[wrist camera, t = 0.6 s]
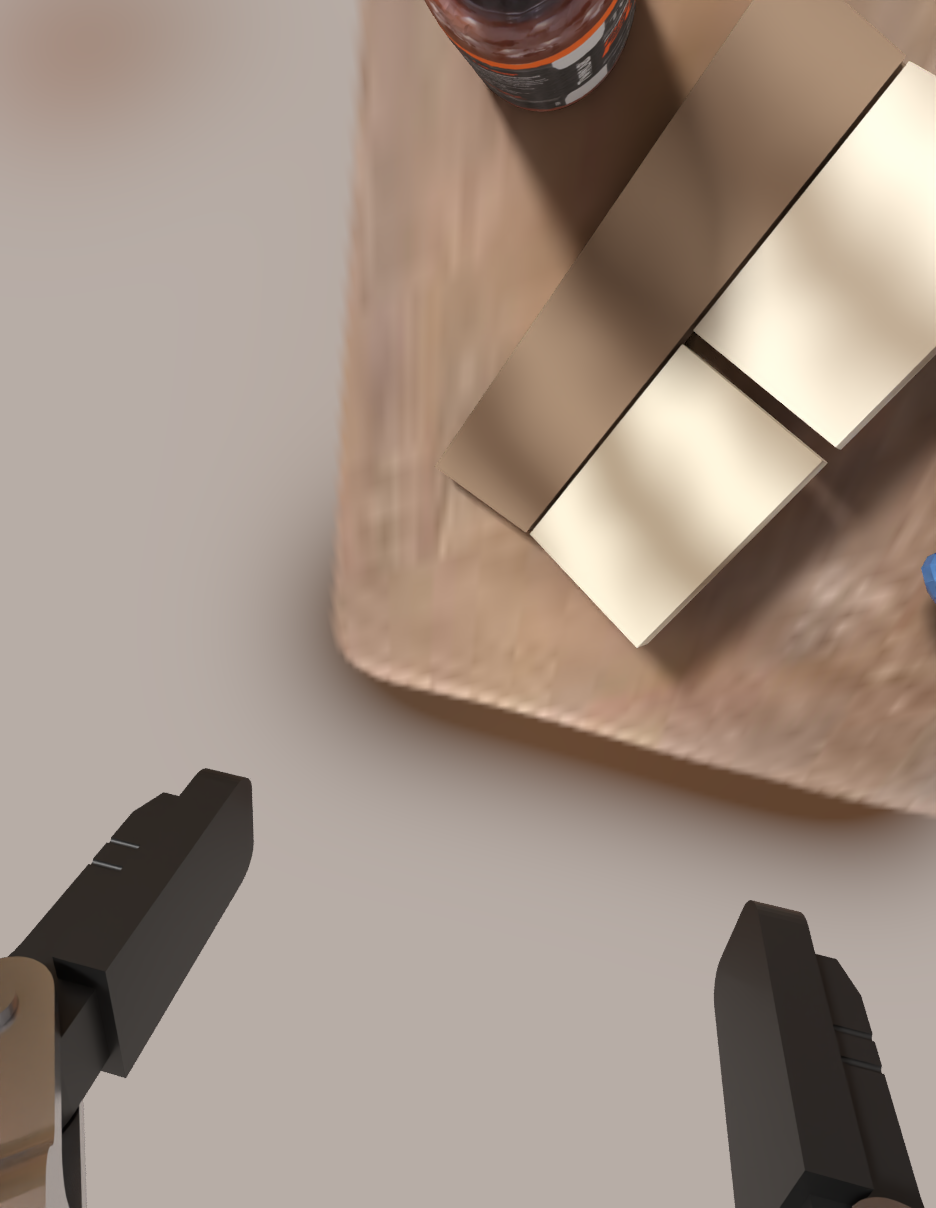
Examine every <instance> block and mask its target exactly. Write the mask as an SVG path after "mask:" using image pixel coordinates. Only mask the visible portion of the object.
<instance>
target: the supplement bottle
mask: <svg viewBox="0 0 936 1208" xmlns="http://www.w3.org/2000/svg"><path fill="white" fill-rule="evenodd" d="M425 2H426V4H427V6H428V7H429V9H430V11H431V13H432V14H433V16H434V17H435V19H436V20H437V22H438V24H439V25H440V27H441V28H442V29H443V30H444V32H445V33H446V35H447V36H448V38H449V39H450V40H451V42H452V43H453V44H454V45H455V46H456V48H457V49H458V50H459V51H460V53H461V54H462V55H463V56H464V58H465V59H466V60H467V61H468V62H469V64H470V65H471V66H472V68H473V69H474V70H475V71H476V73H477V74H478V76H479V77H480V78H481V79H482V80H483V82H484V83H485V84H486V85H487V86H488V87H489V88H490V89H491V90H492V91H493V92H495V93H496V94H497V95H498V96H500V97H501V98H502V99H504V100H505V101H507V102H509V103H510V104H512V105H515V106H517V107H519V108H523V109H527V110H532V111H540V112H543V111H551V110H557V109H561V108H564V107H566V106H569V105H571V104H573V103H576V102H578V101H579V100H581V99H583V98H584V97H586V96H587V95H588V94H589V93H591V92H592V91H593V90H594V89H596V88H597V87H598V86H599V84H600V83H602V82H603V81H604V79H605V78H606V77H607V76H608V74H609V73H610V72H611V70H612V69H613V68H614V66H615V64H616V62H617V61H618V59H619V57H620V55H621V53H622V51H623V48H624V46H625V43H626V40H627V38H628V35H629V32H630V28H631V25H632V22H633V17H634V12H635V9H636V0H425Z"/></svg>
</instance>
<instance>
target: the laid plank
mask: <svg viewBox="0 0 936 1208" xmlns="http://www.w3.org/2000/svg"><path fill="white" fill-rule="evenodd" d="M905 57H906V55H905V54H904V53H903V52H902V51H900V50H899V49H898V48H897V47H896V46H895V45H894V44H893V43H891V42H890V41H889V40H888V39H887V38H886V37H885V36H884V35H882V34H881V33H880V32H879V31H878V30H877V29H876V28H874V27H873V26H872V25H871V24H870V23H869V22H868V21H867V20H865V19H864V18H863V17H862V16H861V15H860V14H859V13H858V12H856V11H855V10H854V9H853V8H852V7H851V6H850V5H848V4H847V3H846V2H845V1H844V0H753V1H752V2H751V4H750V5H749V7H748V8H747V10H746V11H745V12H744V14H743V15H742V17H741V18H740V20H739V21H738V23H737V24H736V26H735V27H734V29H733V30H732V32H731V33H730V34H729V36H728V37H727V39H726V40H725V42H724V43H723V45H722V46H721V48H720V49H719V51H718V52H717V54H716V55H715V56H714V58H713V59H712V61H711V62H710V64H709V65H708V67H707V68H706V70H705V71H704V73H703V74H702V76H701V77H700V78H699V80H698V81H697V83H696V84H695V86H694V87H693V89H692V90H691V92H690V93H689V95H688V96H687V98H686V99H685V100H684V102H683V103H682V105H681V106H680V108H679V109H678V111H677V112H676V114H675V115H674V117H673V118H672V120H671V121H670V122H669V124H668V125H667V127H666V128H665V130H664V131H663V133H662V134H661V136H660V137H659V139H658V140H657V142H656V143H655V144H654V146H653V147H652V149H651V150H650V152H649V153H648V155H647V156H646V158H645V159H644V161H643V162H642V164H641V165H640V166H639V168H638V169H637V171H636V172H635V174H634V175H633V177H632V178H631V180H630V181H629V183H628V184H627V186H626V187H625V188H624V190H623V191H622V193H621V194H620V196H619V197H618V199H617V200H616V202H615V203H614V205H613V206H612V208H611V209H610V210H609V212H608V213H607V215H606V216H605V218H604V219H603V221H602V222H601V224H600V225H599V227H598V228H597V230H596V231H595V232H594V234H593V235H592V237H591V238H590V240H589V241H588V243H587V244H586V246H585V247H584V249H583V250H582V252H581V253H580V254H579V256H578V257H577V259H576V260H575V262H574V263H573V265H572V266H571V268H570V269H569V271H568V272H567V274H566V275H565V276H564V278H563V279H562V281H561V282H560V284H559V285H558V287H557V288H556V290H555V291H554V293H553V294H552V296H551V297H550V298H549V300H548V301H547V303H546V304H545V306H544V307H543V309H542V310H541V312H540V313H539V315H538V316H537V318H536V319H535V320H534V322H533V323H532V325H531V326H530V328H529V329H528V331H527V332H526V334H525V335H524V337H523V338H522V340H521V341H520V342H519V344H518V345H517V347H516V348H515V350H514V351H513V353H512V354H511V356H510V357H509V359H508V360H507V362H506V363H505V364H504V366H503V367H502V369H501V370H500V372H499V373H498V375H497V376H496V378H495V379H494V381H493V382H492V384H491V385H490V386H489V388H488V389H487V391H486V392H485V394H484V395H483V397H482V398H481V400H480V401H479V403H478V404H477V406H476V407H475V408H474V410H473V411H472V413H471V414H470V416H469V417H468V419H467V420H466V422H465V423H464V425H463V426H462V428H461V429H460V430H459V432H458V433H457V435H456V436H455V438H454V439H453V441H452V442H451V444H450V445H449V447H448V448H447V450H446V451H445V452H444V454H443V455H442V457H441V458H440V460H439V461H438V463H437V464H436V466H435V467H436V468H437V469H439V470H440V471H441V472H443V473H444V474H446V475H447V476H448V477H450V478H451V479H452V480H454V481H455V482H457V483H458V484H459V485H461V486H462V487H463V488H465V489H466V490H468V491H469V492H470V493H472V494H473V495H474V496H476V497H477V498H479V499H480V500H481V501H483V502H484V503H485V504H487V505H488V506H490V507H491V508H492V509H494V510H495V511H497V512H498V513H499V514H501V515H502V516H503V517H505V518H506V519H508V520H509V521H510V522H512V523H513V524H514V525H516V526H517V527H519V528H520V529H521V530H523V531H524V532H525V533H526V532H527V531H528V529H529V530H531V531H533V529H534V528H535V527H536V526H537V525H538V523H539V522H540V521H541V520H542V518H543V517H544V516H545V515H546V513H547V512H548V511H549V510H550V508H551V507H552V506H553V505H554V503H555V502H556V501H557V500H558V498H559V497H560V496H561V495H562V493H563V492H564V491H565V490H566V488H567V487H568V486H569V485H570V483H571V482H572V481H573V480H574V478H575V477H576V476H577V475H578V473H579V472H580V471H581V470H582V468H583V467H584V466H585V465H586V463H587V462H588V461H589V460H590V458H591V457H592V456H593V455H594V453H595V452H596V451H597V450H598V448H599V447H600V446H601V445H602V443H603V442H604V441H605V440H606V439H607V437H608V436H609V435H610V434H611V432H612V431H613V430H614V429H615V427H616V426H617V425H618V424H619V422H620V421H621V420H622V419H623V417H624V416H625V415H626V414H627V412H628V411H629V410H630V409H631V407H632V406H633V405H634V404H635V402H636V401H637V400H638V399H639V397H640V396H641V395H642V394H643V392H644V391H645V390H646V389H647V387H648V386H649V385H650V384H651V382H652V381H653V380H654V379H655V377H656V376H657V375H658V374H659V372H660V371H661V370H662V369H663V367H664V366H665V365H666V364H667V362H668V361H669V360H670V359H671V357H672V356H673V355H674V354H675V353H676V351H677V350H678V349H679V348H680V346H681V345H682V344H684V343H685V342H686V340H687V339H688V338H689V337H690V335H691V334H692V333H693V332H694V331H693V330H694V329H695V328H696V326H697V325H698V324H699V323H700V321H701V320H702V319H703V318H704V316H705V315H706V314H707V313H708V311H709V310H710V309H711V308H712V306H713V305H714V304H715V303H716V301H717V300H718V299H719V298H720V296H721V295H722V294H723V293H724V291H725V290H726V289H727V288H728V286H729V285H730V284H731V283H732V281H733V280H734V279H735V278H736V276H737V275H738V274H739V273H740V271H741V270H742V269H743V268H744V267H745V265H746V264H747V263H748V262H749V260H750V259H751V258H752V257H753V255H754V254H755V253H756V252H757V250H758V249H759V248H760V247H761V245H762V244H763V243H764V242H765V240H766V239H767V238H768V237H769V235H770V234H771V233H772V232H773V230H774V229H775V228H776V227H777V225H778V224H779V223H780V222H781V220H782V219H783V218H784V217H785V215H786V214H787V213H788V212H789V210H790V209H791V208H792V207H793V205H794V204H795V203H796V202H797V200H798V199H799V198H800V197H801V195H802V194H803V193H804V192H805V190H806V189H807V188H808V187H809V185H810V184H811V183H812V182H813V180H814V179H815V178H816V177H817V176H818V174H819V173H820V172H821V171H822V169H823V168H824V167H825V166H826V164H827V163H828V162H829V161H830V159H831V158H832V157H833V156H834V154H835V153H836V152H837V151H838V149H839V148H840V147H841V146H842V144H843V143H844V142H845V141H846V139H847V138H848V137H849V136H850V134H851V133H852V132H853V131H854V129H855V128H856V127H857V126H858V124H859V123H860V122H861V121H862V119H863V118H864V117H865V116H866V114H867V113H868V112H869V111H870V109H871V108H872V107H873V106H874V104H875V103H876V102H877V101H878V99H879V98H880V97H881V96H882V94H883V93H884V92H885V91H886V90H887V88H888V87H889V86H890V85H891V83H892V82H893V81H894V80H895V78H896V77H897V76H898V75H899V73H900V72H901V71H902V70H903V68H904V67H905V66H906V65H905V64H904V63H903V62H902V61H903V60H904V58H905Z"/></svg>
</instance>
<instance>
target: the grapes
mask: <svg viewBox="0 0 936 1208" xmlns="http://www.w3.org/2000/svg"><path fill="white" fill-rule="evenodd" d="M921 569H922V573H923V577H924V581H925V585H926V589H927V592H928V593H929V595H930V596H931V598H932V599H933V601H934V602H935V604H936V553H935V554H932V555H930V556H928V557H927V558H926V560H925V562H924V564H923V566H922V568H921Z"/></svg>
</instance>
